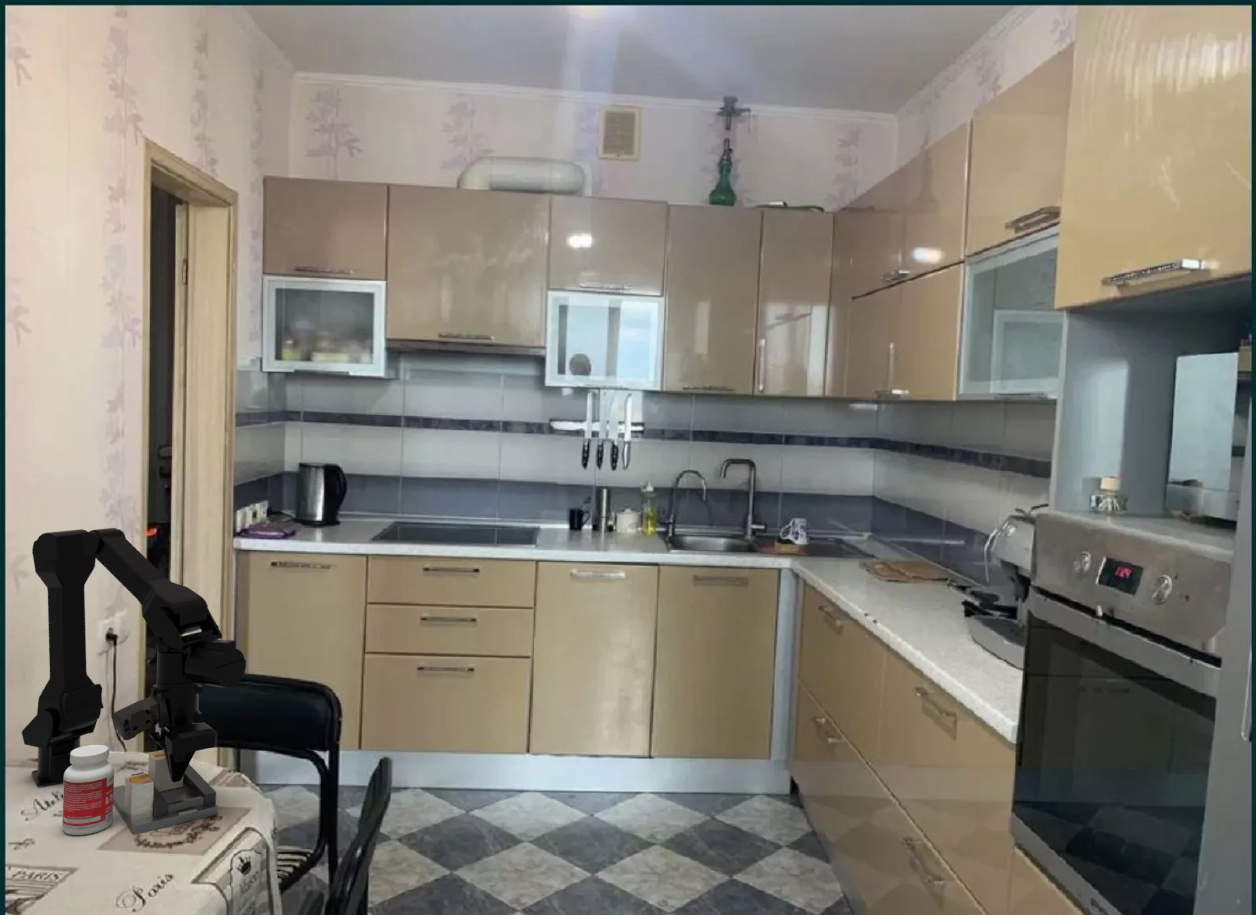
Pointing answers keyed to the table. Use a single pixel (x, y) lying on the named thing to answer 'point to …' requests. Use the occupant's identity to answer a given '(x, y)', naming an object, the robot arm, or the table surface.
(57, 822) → the table surface
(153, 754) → the block
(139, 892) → the table surface
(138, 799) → the grey desk organizer
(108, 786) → the pill bottle
